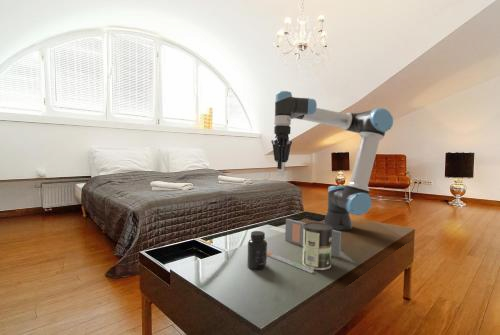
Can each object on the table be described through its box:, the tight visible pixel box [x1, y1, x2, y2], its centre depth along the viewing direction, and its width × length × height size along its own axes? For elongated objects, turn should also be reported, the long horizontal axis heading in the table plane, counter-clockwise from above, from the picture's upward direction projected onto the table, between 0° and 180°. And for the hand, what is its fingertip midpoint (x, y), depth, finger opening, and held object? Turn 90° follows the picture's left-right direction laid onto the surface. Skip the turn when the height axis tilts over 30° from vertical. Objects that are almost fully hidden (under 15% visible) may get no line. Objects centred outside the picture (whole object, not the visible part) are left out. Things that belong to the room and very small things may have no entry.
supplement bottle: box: [246, 230, 268, 271], centre depth 89 cm, size 7×7×12 cm
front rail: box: [267, 251, 315, 274], centre depth 95 cm, size 1×26×1 cm, turn 45°
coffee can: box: [301, 221, 334, 271], centre depth 93 cm, size 10×10×14 cm
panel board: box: [284, 218, 342, 259], centre depth 108 cm, size 1×26×10 cm, turn 45°
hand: (280, 175), depth 121 cm, fingers closed
